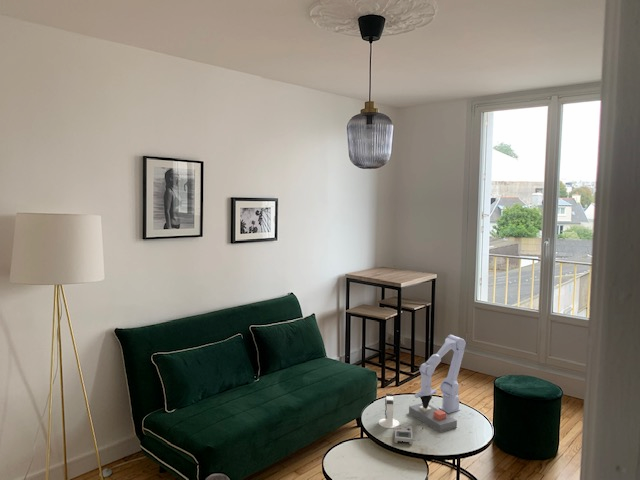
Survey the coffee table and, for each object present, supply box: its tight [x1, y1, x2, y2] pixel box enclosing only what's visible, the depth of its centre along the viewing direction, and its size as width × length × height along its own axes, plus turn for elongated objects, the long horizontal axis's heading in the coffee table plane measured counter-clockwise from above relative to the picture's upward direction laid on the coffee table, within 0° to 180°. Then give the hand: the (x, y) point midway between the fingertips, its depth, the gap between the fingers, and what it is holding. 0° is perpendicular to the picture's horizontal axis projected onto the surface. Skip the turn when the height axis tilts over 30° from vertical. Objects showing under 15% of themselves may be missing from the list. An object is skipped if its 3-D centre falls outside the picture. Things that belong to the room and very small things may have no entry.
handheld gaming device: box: [394, 424, 413, 445], centre depth 253 cm, size 9×15×4 cm, turn 170°
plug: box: [419, 406, 431, 412], centre depth 279 cm, size 5×5×4 cm
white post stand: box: [378, 393, 400, 429], centre depth 269 cm, size 12×11×15 cm
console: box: [408, 402, 458, 433], centre depth 274 cm, size 26×12×4 cm, turn 29°
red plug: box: [433, 409, 447, 420], centre depth 268 cm, size 5×5×4 cm
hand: (425, 407), depth 279 cm, fingers closed, pressing on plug
